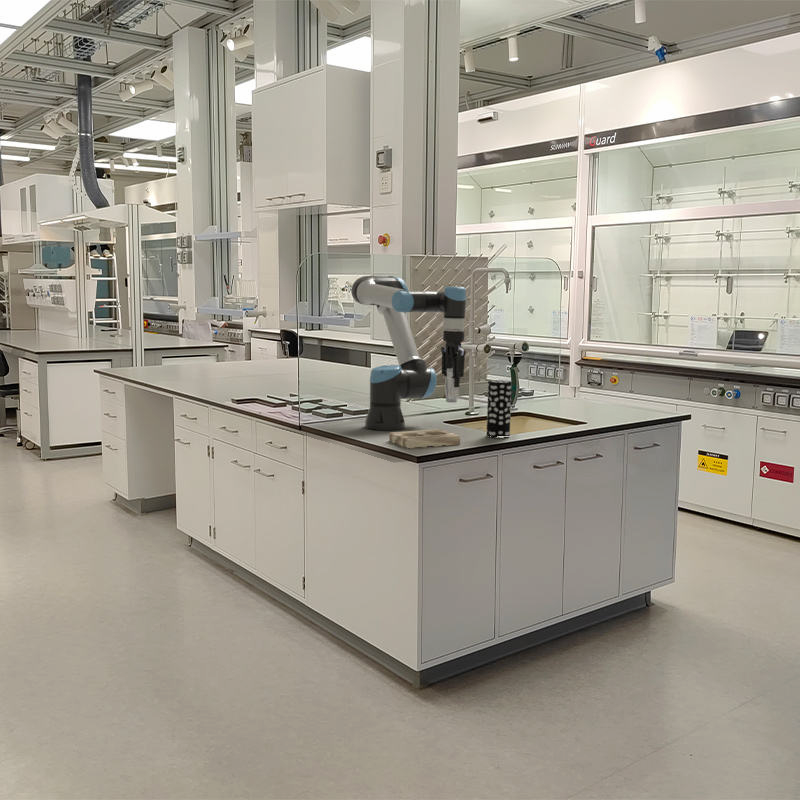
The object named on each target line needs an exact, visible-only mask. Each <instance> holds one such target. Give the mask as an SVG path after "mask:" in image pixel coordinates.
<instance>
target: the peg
mask: <svg viewBox="0 0 800 800" xmlns="http://www.w3.org/2000/svg"><path fill="white" fill-rule="evenodd" d="M452 377H453V367H452V368H447V383H446V395H445V402H446V403H457V402H458V396H451V387H452Z"/></svg>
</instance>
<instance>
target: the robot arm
mask: <svg viewBox="0 0 800 800" xmlns="http://www.w3.org/2000/svg"><path fill="white" fill-rule="evenodd" d="M350 291H351V296H352V298H353V300H354V301H355V302H356V303H358V304H361V305H365V306H376V308H377V311H378V313H379V314H381V315H383V317H384V321H385V324H386V326H387V330H388V334H389V337H390V340H391V343H392V347H393V351H394V352H395V356H396V359H397V362H398V364H391V365H389V364H387V365H381V366H377V367H374V368H372V369H371V371H370V377H369V409H368V412H367V415H366V418H365V421H364V428H366V429H368V428H370V429H369V430H373V429H376V431H396V430H397V431H398V430H403V429H405V426H406V423H405V418H404V415H403V412H402V411H403V410H402V408H401V400H405V399H406V400H407V399H408V400H410V399H423V398H429V397H430V396H432V395H433V394H434V392H435V390H436V386H437V382H438V381H437V379H438V378H437V373H436V370H435V369H434V368H433V367H430V366H427V363H426V360H425V359H423V358H421V357H420V355H419V352H418V347H417V344H416V342H415V339H414V336H413V333H412V329H411V327H410V323H409V321H408V318H407V315H406V313H441V314H442V313H443V329H444V331H443V334H442V340H443V342H445V345H444V346H441V347H440V350H441V374H442V375H443V376H444V395H445V396H446V383H447V368H453V377H452V387H451V396H457V397H459V396H460V379H461V378H463V377H464V371H465V359H466V358H465V357H466V353H467V352H466V349H464V348H462V342H464V341H465V331H464V330H465V327H466V326H465V324H466V320H465V319H466V307H467V306H466V304H467V303H466V302H467V295H466V294H467V293H466V292H467V291H466V288H465V287H464V286H446V287H444V291H438V290H433V291H432V290H431V291H426V290H425V291H424V290H423V291H422V290H421V291H419V290H418V291H417V290H409V289H408V286H407V284H406V282H405V281H404V279H402V278H400V277H398V276H392V275H389V276H381V275H380V276H379V275H363V276H361V277H359V278H357V279H356V280H354V282H353V283H352V285H351V289H350Z"/></svg>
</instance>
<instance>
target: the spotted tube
mask: <svg viewBox="0 0 800 800" xmlns="http://www.w3.org/2000/svg"><path fill="white" fill-rule="evenodd" d="M512 385H513V384H512V381H511V380H503V379H502V380H500V379H496V380H494V379H493V380H488V383H487V386H488V387H487V405H486V406H487V408H486V409H487V412H486V437H487V436H489V437H488V438H490V436H491V437H497V436H510V435H511V410H512V408H511V406H512V405H511V404H512ZM510 437H511V436H510Z"/></svg>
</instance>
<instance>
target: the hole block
mask: <svg viewBox="0 0 800 800" xmlns="http://www.w3.org/2000/svg"><path fill="white" fill-rule="evenodd" d="M388 437H389V438H388V439H389V442H390V441H391V442H390V443H392V442H394V443H393V444H395V443H396V445H398V444H399V445H398V446H400V445H401V447H403V446H404V447H403V448H405V447H407V448H406V449H408V448H410V449H415V448H414V447H422V448H428V447H427V446H434V447H443V446H442V445H446V446H456V445H461V435H459V434H456V433H453V432H450V431H448V430H444V429H440V428H437V429H425V430H423V429H421V430H410V431H409V430H407V431H394V432H393V431H392V432H389V436H388Z"/></svg>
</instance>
